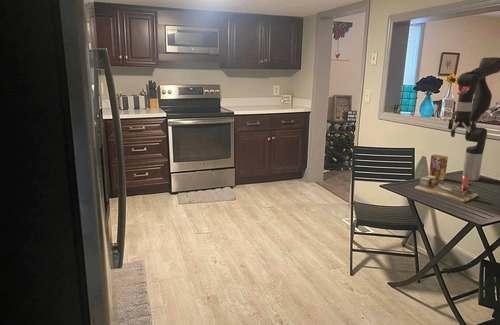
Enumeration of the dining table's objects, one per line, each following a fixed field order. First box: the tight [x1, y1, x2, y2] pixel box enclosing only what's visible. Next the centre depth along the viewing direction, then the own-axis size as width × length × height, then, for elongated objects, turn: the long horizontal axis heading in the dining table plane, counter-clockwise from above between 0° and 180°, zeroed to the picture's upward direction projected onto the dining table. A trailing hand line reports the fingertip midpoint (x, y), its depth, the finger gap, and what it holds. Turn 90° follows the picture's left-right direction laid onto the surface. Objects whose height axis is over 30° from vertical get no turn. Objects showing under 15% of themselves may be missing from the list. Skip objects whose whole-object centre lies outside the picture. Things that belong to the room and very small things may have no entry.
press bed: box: [414, 174, 479, 203], centre depth 203 cm, size 16×28×6 cm, turn 33°
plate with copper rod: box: [451, 174, 470, 195], centre depth 196 cm, size 8×6×11 cm
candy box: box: [428, 153, 449, 181], centre depth 227 cm, size 9×4×15 cm, turn 39°
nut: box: [430, 179, 440, 188], centre depth 209 cm, size 4×4×4 cm
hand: (460, 137), depth 204 cm, fingers open, 8 cm apart
